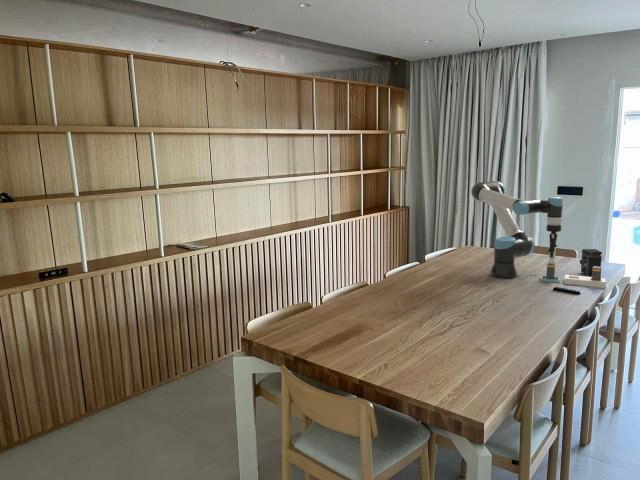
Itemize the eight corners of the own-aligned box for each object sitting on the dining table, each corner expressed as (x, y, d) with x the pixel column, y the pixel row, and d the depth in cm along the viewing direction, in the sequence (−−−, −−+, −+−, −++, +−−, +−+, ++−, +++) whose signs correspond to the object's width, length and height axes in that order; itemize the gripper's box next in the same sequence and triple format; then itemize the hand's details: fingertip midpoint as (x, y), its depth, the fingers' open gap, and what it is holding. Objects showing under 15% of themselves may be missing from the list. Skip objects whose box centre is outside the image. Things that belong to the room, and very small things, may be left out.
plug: (546, 280, 273) (547, 263, 271) (546, 278, 276) (547, 262, 274) (553, 281, 271) (555, 264, 269) (554, 279, 274) (555, 263, 272)
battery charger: (564, 284, 266) (565, 266, 264) (564, 280, 274) (566, 263, 272) (605, 288, 257) (606, 269, 255) (604, 284, 264) (606, 266, 262)
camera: (593, 271, 291) (595, 248, 288) (602, 276, 281) (604, 251, 278) (576, 271, 292) (578, 248, 289) (584, 276, 282) (586, 251, 279)
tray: (540, 281, 273) (540, 278, 272) (541, 278, 279) (541, 275, 279) (559, 283, 268) (559, 280, 267) (560, 280, 275) (560, 277, 274)
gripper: (560, 227, 255) (558, 265, 259) (562, 221, 276) (560, 256, 280) (545, 227, 258) (543, 264, 262) (548, 221, 280) (546, 255, 284)
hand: (552, 260), depth 271 cm, fingers open, 13 cm apart
